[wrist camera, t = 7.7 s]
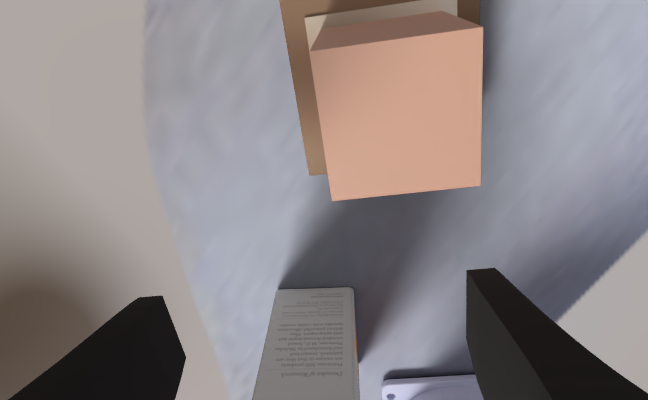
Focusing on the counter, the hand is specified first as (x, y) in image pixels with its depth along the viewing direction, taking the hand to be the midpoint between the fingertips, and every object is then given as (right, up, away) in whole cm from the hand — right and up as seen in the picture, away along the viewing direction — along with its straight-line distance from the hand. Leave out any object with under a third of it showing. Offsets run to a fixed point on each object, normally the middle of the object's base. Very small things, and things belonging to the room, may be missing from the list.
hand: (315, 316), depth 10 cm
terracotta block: (+2, +7, +5) cm, 9 cm away
